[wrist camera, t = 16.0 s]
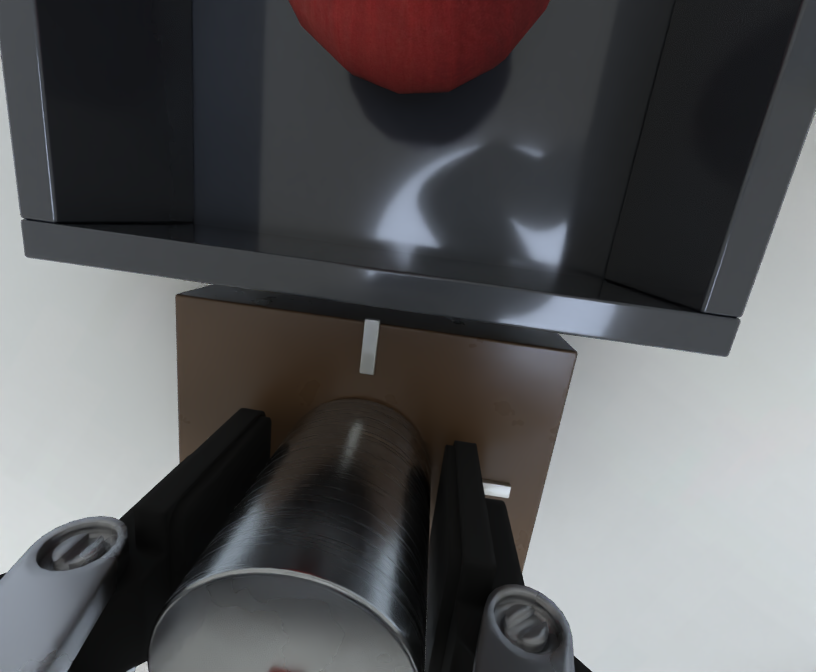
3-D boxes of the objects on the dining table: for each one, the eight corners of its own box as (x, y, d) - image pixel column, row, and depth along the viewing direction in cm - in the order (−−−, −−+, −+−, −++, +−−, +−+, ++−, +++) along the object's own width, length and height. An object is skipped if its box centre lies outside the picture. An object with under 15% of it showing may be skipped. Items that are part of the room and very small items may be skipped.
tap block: (252, 269, 15) (169, 290, 10) (537, 310, 14) (582, 350, 10) (247, 471, 17) (177, 562, 12) (493, 510, 16) (513, 619, 12)
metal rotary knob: (287, 386, 11) (120, 567, 5) (441, 409, 10) (444, 621, 5) (281, 516, 12) (136, 782, 6) (420, 539, 12) (402, 834, 6)
